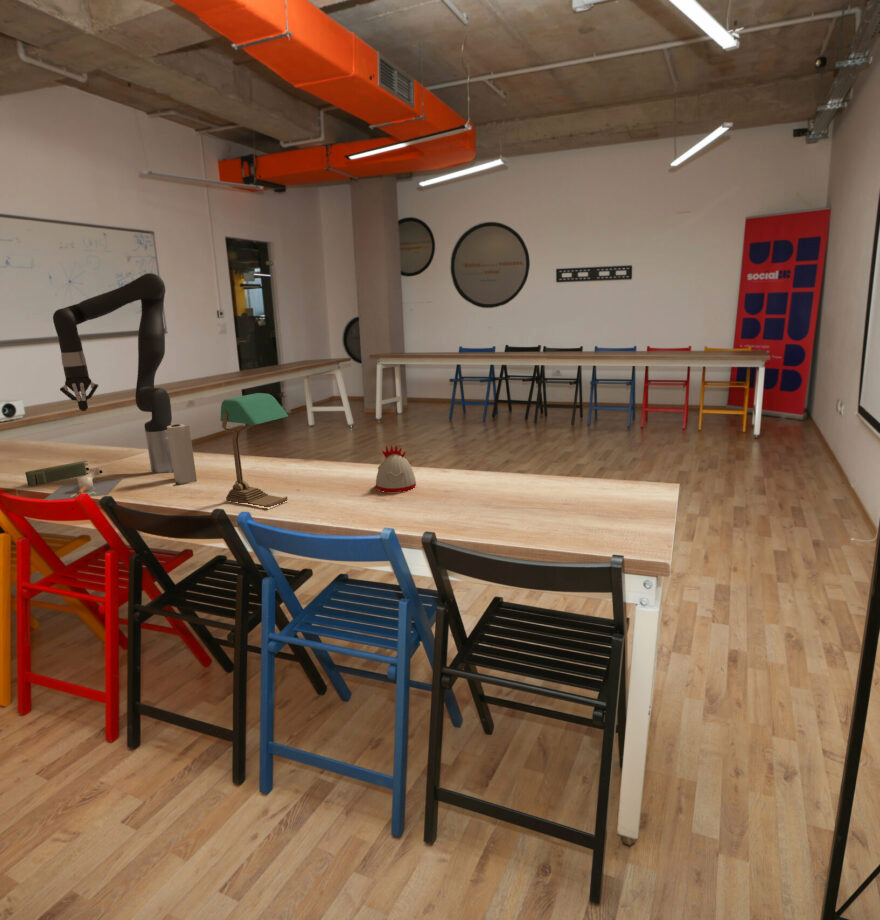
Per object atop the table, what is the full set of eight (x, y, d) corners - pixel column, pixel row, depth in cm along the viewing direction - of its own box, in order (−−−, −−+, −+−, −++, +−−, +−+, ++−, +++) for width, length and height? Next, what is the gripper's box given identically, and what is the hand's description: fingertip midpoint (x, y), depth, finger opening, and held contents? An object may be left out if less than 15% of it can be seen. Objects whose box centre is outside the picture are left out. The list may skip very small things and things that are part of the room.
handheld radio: (28, 488, 227) (101, 473, 244) (30, 490, 225) (104, 475, 242) (24, 471, 225) (98, 457, 242) (27, 473, 223) (101, 459, 240)
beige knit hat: (376, 482, 221) (373, 441, 217) (414, 480, 222) (413, 439, 218) (376, 494, 207) (373, 450, 203) (416, 491, 208) (415, 448, 204)
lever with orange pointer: (87, 494, 211) (85, 482, 210) (73, 496, 210) (71, 484, 209) (102, 477, 232) (100, 466, 230) (89, 479, 230) (87, 468, 229)
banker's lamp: (254, 491, 215) (242, 390, 206) (299, 499, 204) (289, 394, 195) (217, 504, 201) (203, 398, 192) (263, 513, 191) (251, 402, 182)
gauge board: (122, 482, 231) (122, 478, 230) (107, 498, 212) (107, 494, 212) (64, 487, 227) (63, 483, 226) (43, 504, 208) (42, 499, 207)
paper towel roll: (172, 482, 228) (163, 425, 223) (188, 478, 233) (180, 422, 227) (181, 485, 224) (172, 428, 218) (197, 481, 228) (189, 425, 222)
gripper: (96, 361, 232) (104, 407, 237) (55, 364, 227) (65, 411, 232) (93, 363, 225) (102, 410, 230) (52, 367, 221) (62, 414, 225)
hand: (84, 410), depth 231 cm, fingers closed
